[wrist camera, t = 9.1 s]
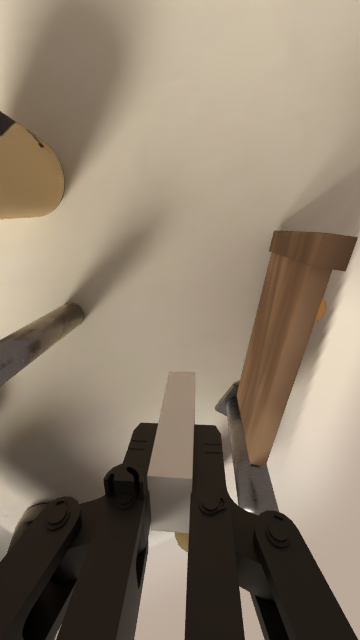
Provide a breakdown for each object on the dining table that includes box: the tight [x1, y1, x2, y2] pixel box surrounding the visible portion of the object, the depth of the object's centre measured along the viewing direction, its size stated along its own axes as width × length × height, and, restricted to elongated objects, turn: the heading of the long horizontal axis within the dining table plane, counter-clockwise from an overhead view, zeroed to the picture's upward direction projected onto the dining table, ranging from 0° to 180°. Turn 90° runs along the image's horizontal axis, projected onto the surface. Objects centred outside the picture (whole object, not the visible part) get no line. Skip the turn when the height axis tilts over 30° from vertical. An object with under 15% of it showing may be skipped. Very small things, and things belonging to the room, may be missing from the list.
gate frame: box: [0, 303, 279, 516], centre depth 26 cm, size 4×28×14 cm, turn 61°
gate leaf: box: [237, 231, 358, 466], centre depth 23 cm, size 2×20×11 cm, turn 173°
